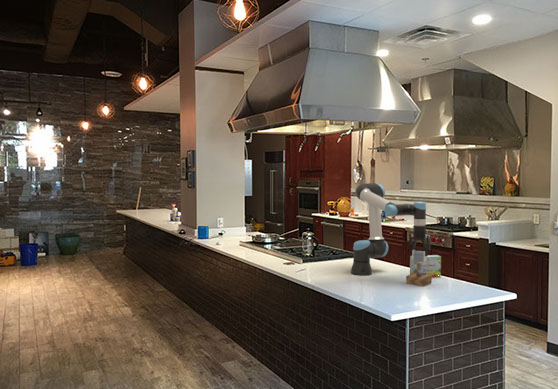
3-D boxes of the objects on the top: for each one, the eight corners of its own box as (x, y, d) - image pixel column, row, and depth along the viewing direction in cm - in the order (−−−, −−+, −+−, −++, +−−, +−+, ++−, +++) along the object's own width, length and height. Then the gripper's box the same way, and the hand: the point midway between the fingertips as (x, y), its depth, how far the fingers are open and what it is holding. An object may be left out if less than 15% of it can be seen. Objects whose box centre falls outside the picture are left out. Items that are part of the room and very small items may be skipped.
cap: (416, 259, 321) (416, 250, 321) (426, 260, 316) (426, 251, 316) (411, 260, 316) (411, 251, 315) (422, 262, 311) (422, 252, 311)
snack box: (413, 279, 330) (414, 257, 330) (409, 277, 336) (409, 255, 335) (441, 277, 336) (441, 255, 335) (436, 275, 341) (436, 254, 341)
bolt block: (406, 283, 316) (406, 263, 316) (414, 280, 325) (414, 261, 325) (423, 286, 308) (423, 266, 308) (431, 283, 317) (431, 263, 317)
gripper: (402, 224, 319) (402, 259, 320) (432, 226, 306) (431, 263, 307) (408, 223, 324) (407, 258, 325) (436, 226, 311) (436, 261, 312)
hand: (419, 260), depth 316 cm, fingers closed on cap, 7 cm apart
